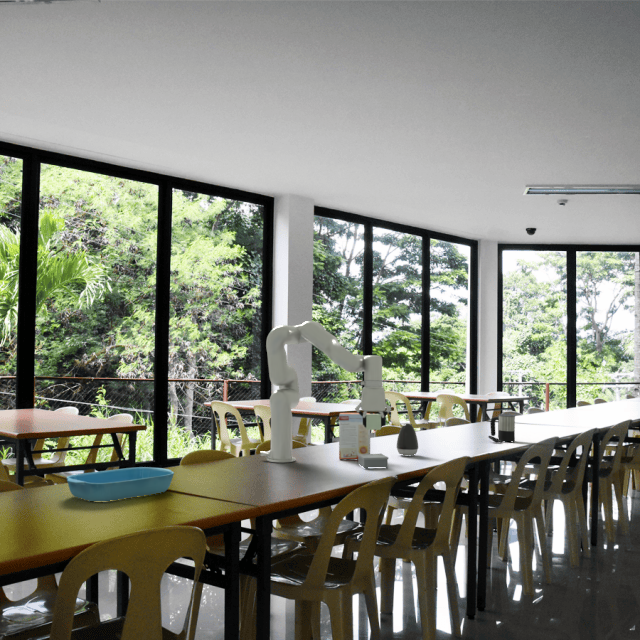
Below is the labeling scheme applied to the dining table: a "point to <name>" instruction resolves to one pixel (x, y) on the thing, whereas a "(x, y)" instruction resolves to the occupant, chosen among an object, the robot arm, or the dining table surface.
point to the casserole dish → (120, 483)
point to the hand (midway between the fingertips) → (373, 426)
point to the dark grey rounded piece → (407, 440)
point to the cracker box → (352, 436)
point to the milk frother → (503, 428)
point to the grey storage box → (372, 460)
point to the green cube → (373, 422)
